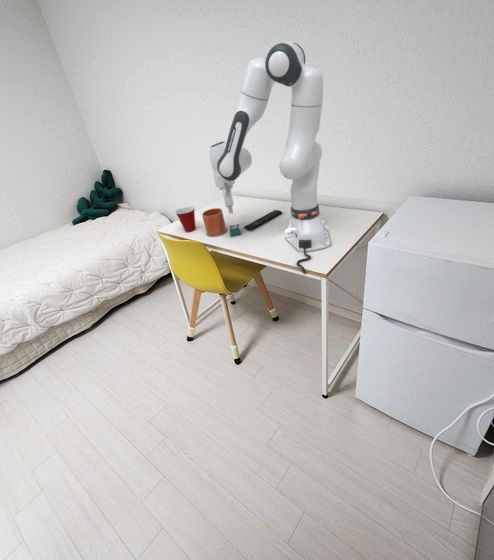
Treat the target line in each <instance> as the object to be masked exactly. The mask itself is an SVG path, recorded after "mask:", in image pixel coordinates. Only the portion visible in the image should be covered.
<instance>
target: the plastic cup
mask: <svg viewBox="0 0 494 560" xmlns="http://www.w3.org/2000/svg"><path fill="white" fill-rule="evenodd" d="M195 210H196V207H195V206H184V207H180V208H178V209H176V210H174V213H175V214H176V216H177V218H178V220H179V221H180V223H181V225H182V227H183V230H184V231H185V232H186V233H191V232H194V231H196V230H197V229H196V217H195V213H196V212H195Z"/></svg>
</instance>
